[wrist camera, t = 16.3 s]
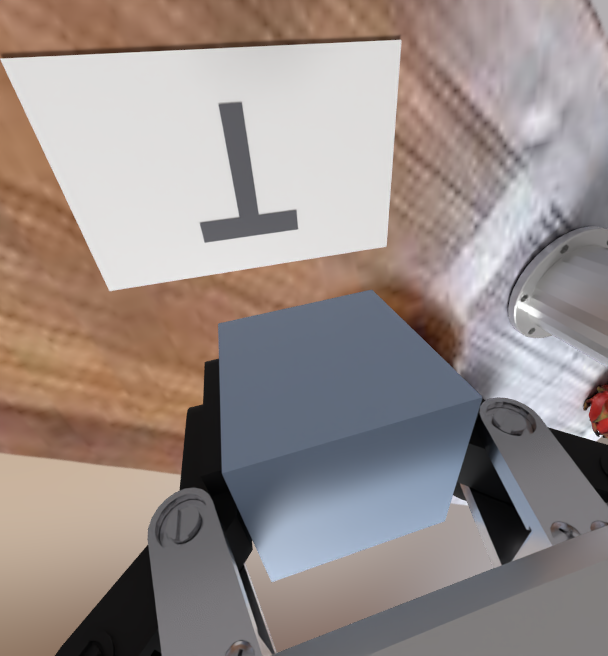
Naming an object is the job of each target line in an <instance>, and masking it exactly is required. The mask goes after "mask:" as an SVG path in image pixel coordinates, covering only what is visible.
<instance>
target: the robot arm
mask: <svg viewBox="0 0 608 656" xmlns="http://www.w3.org/2000/svg"><path fill="white" fill-rule="evenodd" d="M508 316H509V320H510V323H511V325H512V326H513V328H514V329H516V330H517V331H518V332H520V333H521V334H523V335H525V336H527V337H531V338H544V337H548V336H552V335H553V336H555V337H557V338H558V339H560V340H562V341H563V342H565V343H567V344H568V345H570V346H572V347H574V348H575V349H577V350H579V351H580V352H582V353H584V354H585V355H587V356H589V357H590V358H592V359H594V360H595V361H597V362H599V363H601V364H602V365H604V366H606V367H607V368H608V229H605V228H601V227H594V226H589V227H583V228H579V229H576V230H574V231H571V232H569V233H567V234H565V235H563V236H561V237H559V238H558V239H556V240H555V241H553V242H552V243H551V244H549V245H548V246H547V247H545V248H544V249H543V250H542V251H541V252H540V253H539V254H538V255H537V256H536V257H535V258H534V259H533V260H532V261H531V262H530V264H529V265H528V266H527V267H526V269H525V270H524V271H523V273H522V274H521V276H520V277H519V279H518V281H517V283H516V285H515V287H514V289H513V291H512V294H511V297H510V301H509V306H508ZM457 482H458V483H460V485H461V488H462V490H463V493H464V496H465V498H466V501H467V503H468V506H469V508H470V511H471V513H472V516H473V518H474V521H475V523H476V525H477V528H478V531H479V533H480V536H481V538H482V540H483V543H484V546H485V548H486V551H487V553H488V556H489V558H490V561H491V563H492V566H493V569H491V570H488V571H486V572H483V573H481V574H478V575H475V576H473V577H471V578H468V579H465V580H463V581H460V582H457V583H455V584H452V585H450V586H447V587H444V588H442V589H439V590H437V591H434V592H432V593H429V594H426V595H424V596H421V597H419V598H416V599H413V600H411V601H409V602H406V603H403V604H401V605H398V606H395V607H393V608H390V609H388V610H385V611H383V612H380V613H377V614H375V615H372V616H370V617H367V618H365V619H362V620H360V621H357V622H354V623H352V624H349V625H347V626H345V627H342V628H339V629H337V630H334V631H332V632H329V633H327V634H324V635H322V636H319V637H316V638H314V639H311V640H309V641H306V642H304V643H301V644H299V645H296V646H294V647H291V648H288V649H286V650H283V651H281V652H278V653H277V652H276V649H275V646H274V644H273V641H272V638H271V635H270V632H269V629H268V626H267V624H266V621H265V618H264V615H263V612H262V609H261V607H260V604H259V601H258V598H257V596H256V593H255V590H254V587H253V584H252V581H251V578H250V575H249V573H248V570H247V567H246V564H245V561H246V560H247V558H248V556H249V555H250V553H251V552H252V550H253V549H252V541H253V540H252V538H251V536H250V534H249V531H248V529H247V527H246V525H245V523H244V521H243V518H242V516H241V514H240V512H239V510H238V507H237V505H236V503H235V501H234V499H233V497H232V494H231V492H230V490H229V488H228V486H227V483H226V481H225V479H224V477H223V475H222V457H221V416H220V375H219V359H216V360H211V361H207V362H205V370H204V396H203V405H199V406H195V407H191V408H189V409H188V411H187V419H186V429H185V439H184V450H183V460H182V471H181V482H180V491H178V492H176V493H174V494H173V495H171V496H170V497H168V498H167V499H166V500H165V501H164V502H163V503H162V504H161V505H160V506H159V507H158V509H157V510H156V512H155V514H154V515H153V517H152V519H151V522H150V525H149V528H148V545H147V547H146V548H145V549H144V550H143V551H142V552H141V553H140V555H139V556H138V557H137V558H136V559H135V561H134V562H133V563H132V564H131V565H130V566H129V568H128V569H127V570H126V571H125V572H124V574H123V575H122V576H121V577H120V578H119V579H118V581H117V582H116V583H115V584H114V585H113V587H112V588H111V589H110V590H109V591H108V592H107V594H106V595H105V596H104V597H103V598H102V599H101V601H100V602H99V603H98V604H97V605H96V607H95V608H94V609H93V610H92V611H91V612H90V614H89V615H88V616H87V617H86V618H85V620H84V621H83V622H82V623H81V624H80V625H79V627H78V628H77V629H76V630H75V631H74V633H72V635H71V636H70V637H69V638H68V639H67V641H66V642H65V643H64V644H63V645H62V647H61V648H60V650H59V651H58V652H57V653H56V655H55V656H608V445H606V444H603V443H599V442H596V441H592V440H589V439H586V438H582V437H579V436H575V435H572V434H569V433H565V432H562V431H558V430H555V429H552V428H548V427H547V426H546V425H545V423H544V422H543V421H542V419H541V418H540V417H539V416H538V415H537V414H536V413H535V412H534V411H533V410H532V409H531V408H529V407H528V406H526V405H525V404H522V403H520V402H518V401H516V400H512V399H508V398H491V399H488V400H486V401H485V400H484V399H483V398H482V401H481V404H480V408H479V411H478V414H477V417H476V421H475V424H474V427H473V430H472V434H471V437H470V440H469V444H468V447H467V450H466V453H465V457H464V460H463V463H462V466H461V470H460V473H459V476H458V480H457Z"/></svg>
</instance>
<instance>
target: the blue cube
mask: <svg viewBox="0 0 608 656" xmlns="http://www.w3.org/2000/svg"><path fill="white" fill-rule="evenodd" d="M218 333H219V375H220V416H221V457H222V475H223V477H224V479H225V481H226V483H227V486H228V488H229V490H230V492H231V494H232V497H233V499H234V501H235V503H236V505H237V507H238V510H239V512H240V514H241V516H242V518H243V521H244V523H245V525H246V527H247V529H248V531H249V534H250V536H251V538H252V540H253V542H254V544H255V547H256V549H257V551H258V553H259V555H260V558H261V560H262V562H263V564H264V566H265V568H266V571H267V573H268V575H269V577H270V579H271V581H272V582H273V581H276V580H279V579H282V578H285V577H287V576H290V575H293V574H296V573H299V572H302V571H304V570H307V569H310V568H313V567H316V566H319V565H322V564H324V563H327V562H330V561H333V560H336V559H339V558H342V557H344V556H347V555H350V554H353V553H356V552H359V551H361V550H364V549H367V548H370V547H372V546H376V545H378V544H381V543H384V542H387V541H390V540H393V539H395V538H398V537H401V536H404V535H407V534H409V533H413V532H415V531H418V530H421V529H424V528H427V527H430V526H432V525H435V524H438V523H441V522H444V521H445V519H446V516H447V512H448V509H449V506H450V503H451V499H452V496H453V493H454V489H455V486H456V483H457V480H458V476H459V473H460V470H461V466H462V463H463V460H464V457H465V453H466V450H467V447H468V444H469V440H470V437H471V434H472V430H473V427H474V424H475V421H476V417H477V414H478V411H479V408H480V404H481V401H482V398H483V397H482V396H481V395H480V394H479V393H478V392H477V391H476V390H475V389H474V388H473V387H472V386H471V385H470V384H469V383H468V382H466V381H465V380H464V379H463V378H462V377H461V376H460V375H459V374H458V373H457V372H456V371H455V370H454V369H453V368H452V367H451V366H450V365H449V364H448V363H447V362H446V361H445V360H444V359H443V358H442V357H441V356H440V355H439V354H438V353H437V352H436V351H435V350H433V349H432V348H431V347H430V346H429V345H428V344H427V343H426V342H425V341H424V340H423V339H422V338H421V337H420V336H419V335H418V334H417V333H416V332H415V331H414V330H413V329H412V328H411V327H410V326H409V325H408V324H407V323H406V322H405V321H404V320H403V319H402V318H400V317H399V316H398V315H397V314H396V313H395V312H394V311H393V310H392V309H391V308H390V307H389V306H388V305H387V304H386V303H385V302H384V301H383V300H382V299H381V298H380V297H379V296H378V295H377V294H376V293H375V292H374V291H373V290H368V291H364V292H359V293H355V294H350V295H346V296H341V297H337V298H332V299H328V300H323V301H319V302H314V303H310V304H305V305H301V306H296V307H292V308H287V309H282V310H278V311H273V312H269V313H264V314H260V315H255V316H251V317H246V318H242V319H237V320H233V321H228V322H224V323H219V324H218Z"/></svg>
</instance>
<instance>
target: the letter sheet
mask: <svg viewBox="0 0 608 656" xmlns="http://www.w3.org/2000/svg"><path fill="white" fill-rule="evenodd" d="M400 52H401V40H386V41H365V42H344V43H322V44H301V45H280V46H259V47H237V48H216V49H195V50H174V51H152V52H131V53H110V54H88V55H67V56H46V57H25V58H3V59H0V60H1V62H2V64H3V66H4V68H5V70H6V72H7V74H8V76H9V79H10V81H11V83H12V85H13V87H14V89H15V91H16V93H17V96H18V98H19V100H20V102H21V104H22V106H23V108H24V110H25V113H26V115H27V117H28V119H29V121H30V123H31V125H32V127H33V130H34V132H35V134H36V136H37V138H38V140H39V142H40V144H41V147H42V149H43V151H44V153H45V155H46V157H47V159H48V161H49V164H50V166H51V168H52V170H53V172H54V174H55V176H56V178H57V181H58V183H59V185H60V187H61V189H62V191H63V193H64V195H65V198H66V200H67V202H68V204H69V206H70V208H71V210H72V212H73V214H74V217H75V219H76V221H77V223H78V225H79V227H80V229H81V231H82V234H83V236H84V238H85V240H86V242H87V244H88V246H89V248H90V251H91V253H92V255H93V257H94V259H95V261H96V263H97V265H98V268H99V270H100V272H101V274H102V276H103V278H104V280H105V282H106V285H107V287H108V289H109V291H113V290H119V289H125V288H132V287H138V286H144V285H150V284H156V283H163V282H169V281H175V280H181V279H187V278H194V277H200V276H206V275H212V274H219V273H225V272H231V271H237V270H243V269H250V268H256V267H262V266H268V265H275V264H281V263H287V262H293V261H299V260H306V259H312V258H318V257H324V256H331V255H337V254H343V253H349V252H355V251H362V250H368V249H374V248H380V247H386V246H387V232H388V218H389V204H390V190H391V176H392V162H393V149H394V135H395V121H396V107H397V93H398V79H399V66H400Z"/></svg>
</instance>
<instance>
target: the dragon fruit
mask: <svg viewBox="0 0 608 656" xmlns="http://www.w3.org/2000/svg"><path fill="white" fill-rule="evenodd" d="M597 390H598V392H599V393H597V394H596V395H595V396H594V397H593V398H591V399H588V400H586V401H585V403H584V408H583V409H584V410H587V408H588V407H589V406H590V404H591V405H592V406H591V409H590V412H589V418H590V421H591V423H592V429H593V431H594V432H595V434H596V435H597V436H598V437H600V436H599V435H603V438H608V385H602V386H601V387H599V386H598V387H597ZM598 431H599V432H598Z"/></svg>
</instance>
